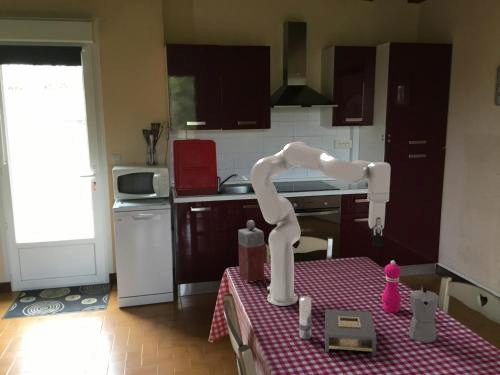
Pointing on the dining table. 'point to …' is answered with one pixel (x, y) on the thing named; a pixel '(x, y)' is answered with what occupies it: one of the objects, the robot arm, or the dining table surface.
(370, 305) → the dining table surface
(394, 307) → the pepper mill
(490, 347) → the dining table surface
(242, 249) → the brown lidded canister
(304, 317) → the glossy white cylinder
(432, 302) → the coffeepot
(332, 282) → the dining table surface
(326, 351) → the grey square socket block
